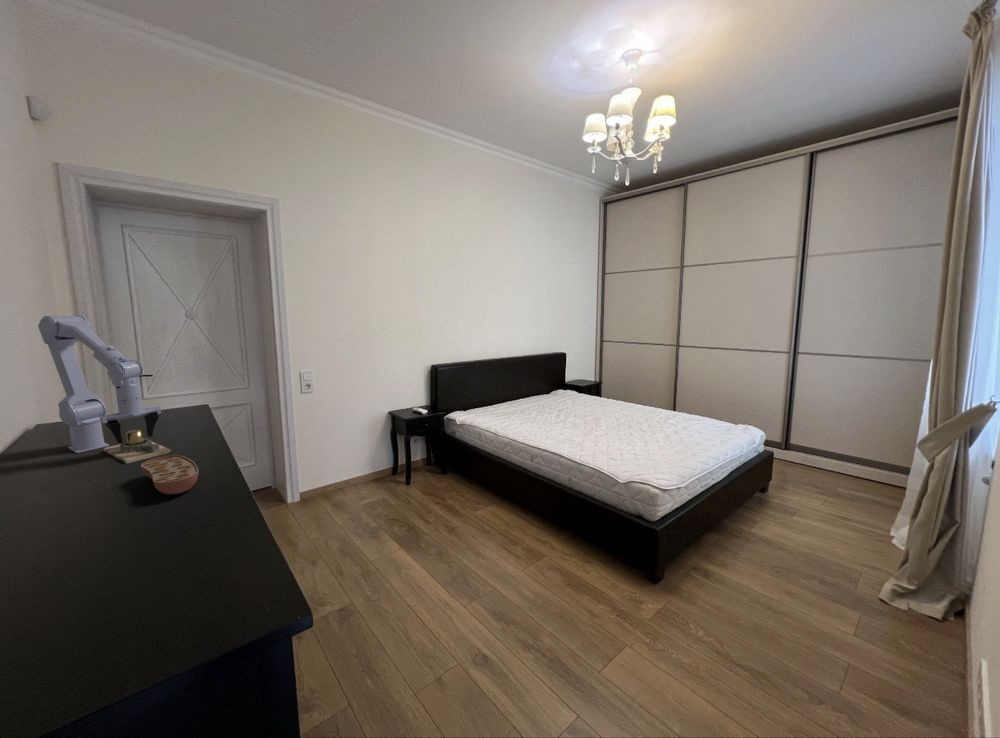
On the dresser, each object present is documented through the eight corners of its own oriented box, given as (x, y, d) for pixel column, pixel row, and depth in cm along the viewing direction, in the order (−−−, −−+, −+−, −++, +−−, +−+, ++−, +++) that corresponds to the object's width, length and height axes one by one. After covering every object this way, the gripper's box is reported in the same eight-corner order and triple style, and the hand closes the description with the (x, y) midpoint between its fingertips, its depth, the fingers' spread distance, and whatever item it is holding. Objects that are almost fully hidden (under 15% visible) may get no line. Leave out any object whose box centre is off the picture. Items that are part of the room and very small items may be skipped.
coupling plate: (103, 451, 131) (102, 442, 130) (146, 441, 140) (145, 433, 140) (126, 463, 121) (125, 454, 120) (170, 452, 130) (169, 443, 130)
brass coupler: (126, 449, 130) (123, 431, 129) (142, 445, 133) (139, 428, 132) (131, 451, 128) (128, 433, 127) (146, 448, 131) (144, 430, 130)
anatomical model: (139, 479, 111) (137, 462, 110) (184, 468, 118) (182, 451, 117) (159, 505, 96) (157, 485, 96) (208, 490, 104) (206, 472, 103)
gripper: (103, 405, 119) (109, 448, 122) (162, 395, 132) (167, 435, 134) (95, 402, 123) (101, 444, 125) (153, 393, 135) (159, 431, 137)
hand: (135, 439), depth 130 cm, fingers open, 7 cm apart
